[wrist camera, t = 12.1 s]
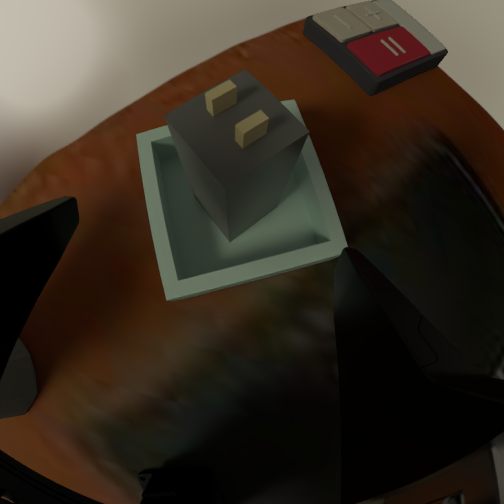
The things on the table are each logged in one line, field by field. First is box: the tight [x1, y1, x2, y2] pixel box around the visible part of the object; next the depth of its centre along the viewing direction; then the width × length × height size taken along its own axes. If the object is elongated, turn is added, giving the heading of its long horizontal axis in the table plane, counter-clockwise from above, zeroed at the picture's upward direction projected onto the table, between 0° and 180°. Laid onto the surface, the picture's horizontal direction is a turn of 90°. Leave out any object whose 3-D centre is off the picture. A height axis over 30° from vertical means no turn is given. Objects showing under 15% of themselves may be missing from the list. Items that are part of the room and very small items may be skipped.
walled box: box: [136, 100, 348, 300], centre depth 22 cm, size 12×12×4 cm
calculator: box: [303, 0, 448, 96], centre depth 26 cm, size 11×4×15 cm
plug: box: [164, 70, 310, 242], centre depth 17 cm, size 4×4×12 cm
